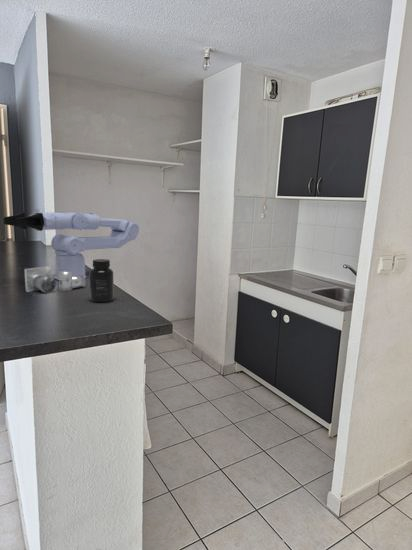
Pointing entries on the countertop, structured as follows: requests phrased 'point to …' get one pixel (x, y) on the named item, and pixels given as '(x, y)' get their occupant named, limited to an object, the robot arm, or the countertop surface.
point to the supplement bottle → (101, 281)
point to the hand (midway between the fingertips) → (10, 221)
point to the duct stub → (39, 279)
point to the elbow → (70, 280)
